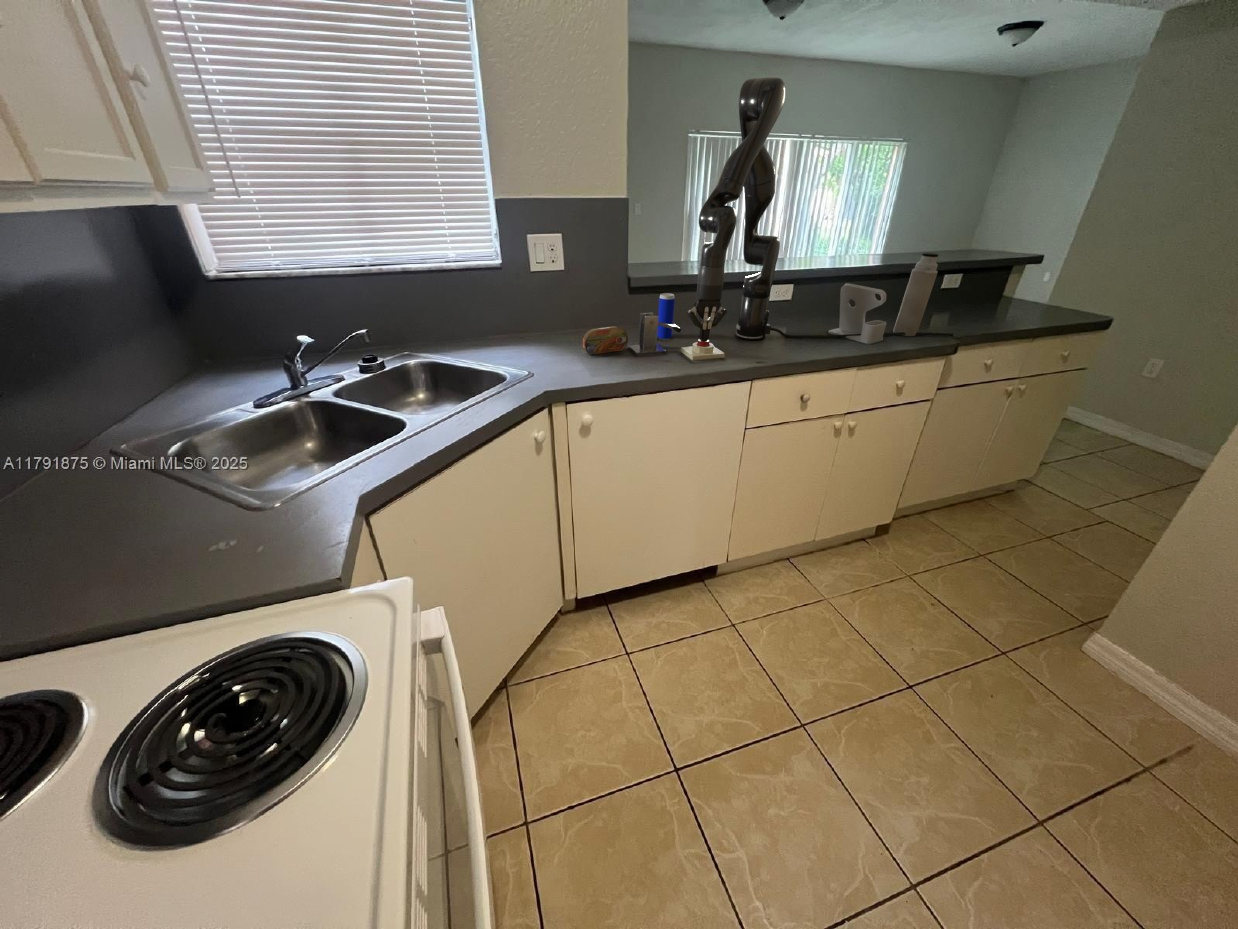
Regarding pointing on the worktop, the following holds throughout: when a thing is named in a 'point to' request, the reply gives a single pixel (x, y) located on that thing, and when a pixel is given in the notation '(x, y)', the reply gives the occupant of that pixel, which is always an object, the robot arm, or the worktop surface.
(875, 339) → the phone holder
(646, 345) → the press bracket
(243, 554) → the worktop surface
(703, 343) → the button
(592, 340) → the tin
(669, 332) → the beverage can
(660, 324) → the press lever
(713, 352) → the button block
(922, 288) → the thermos bottle
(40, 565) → the worktop surface
